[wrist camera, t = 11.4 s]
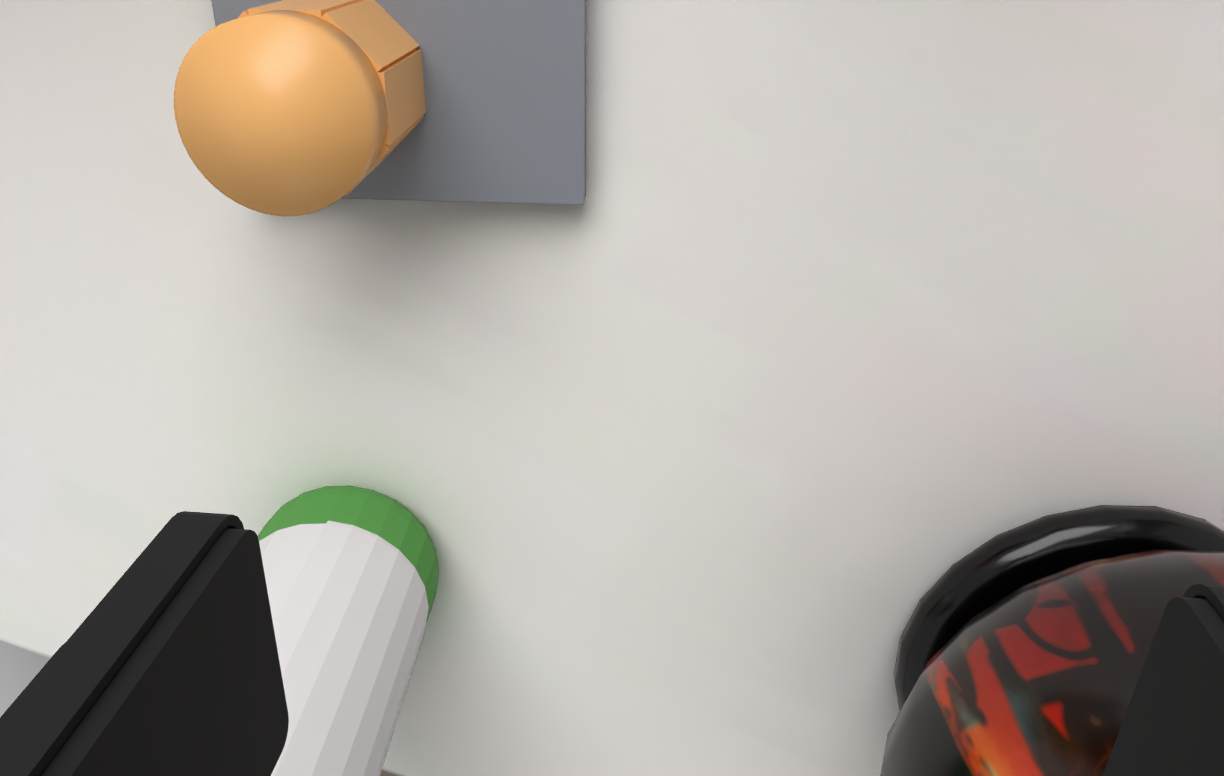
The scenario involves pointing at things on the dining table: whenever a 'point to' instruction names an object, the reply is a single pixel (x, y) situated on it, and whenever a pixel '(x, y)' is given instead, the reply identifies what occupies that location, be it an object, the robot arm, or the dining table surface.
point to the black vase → (1041, 642)
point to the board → (486, 102)
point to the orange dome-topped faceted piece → (298, 101)
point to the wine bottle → (345, 623)
